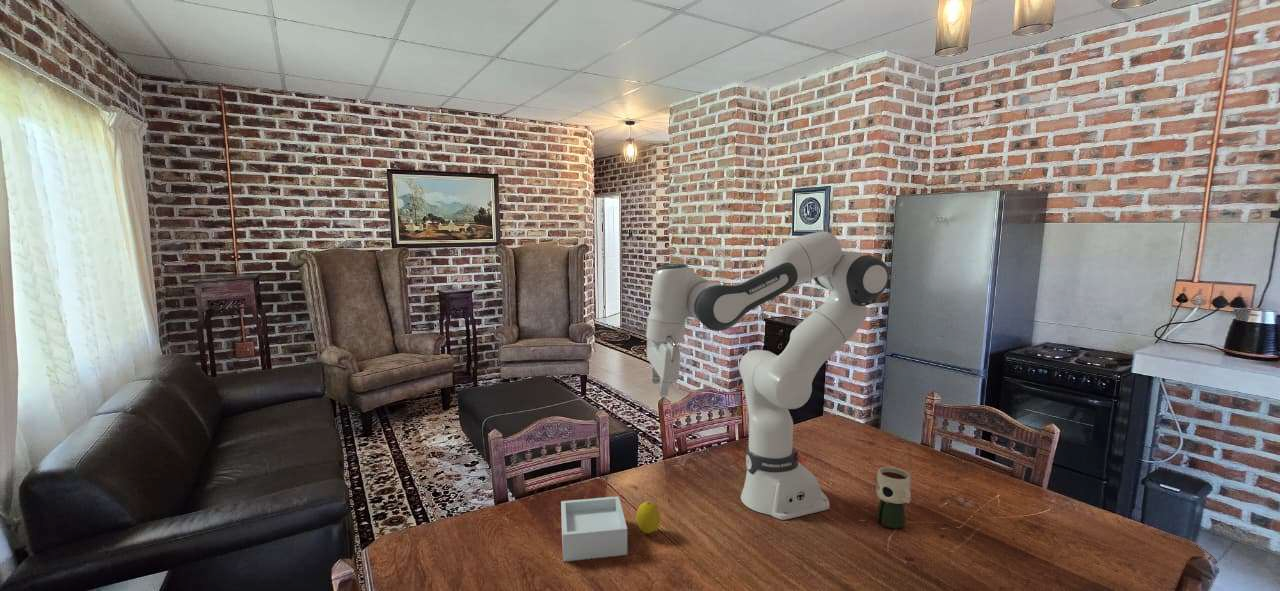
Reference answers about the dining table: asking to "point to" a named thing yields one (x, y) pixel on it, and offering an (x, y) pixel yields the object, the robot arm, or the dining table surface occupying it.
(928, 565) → the dining table surface
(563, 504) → the white open box
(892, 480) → the character mug
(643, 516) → the lemon
